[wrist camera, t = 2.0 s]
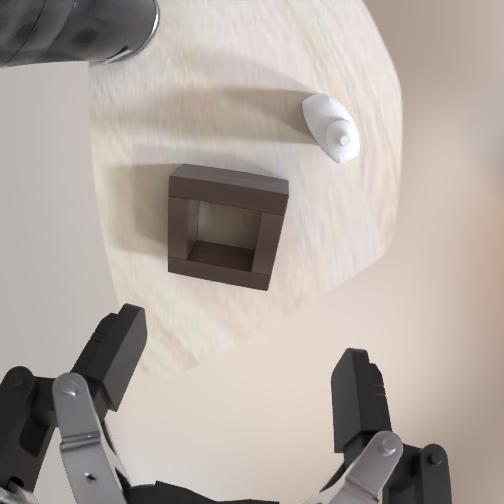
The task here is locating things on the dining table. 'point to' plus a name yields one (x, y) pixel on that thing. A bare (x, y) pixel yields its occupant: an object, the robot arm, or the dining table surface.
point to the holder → (232, 194)
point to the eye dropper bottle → (331, 127)
